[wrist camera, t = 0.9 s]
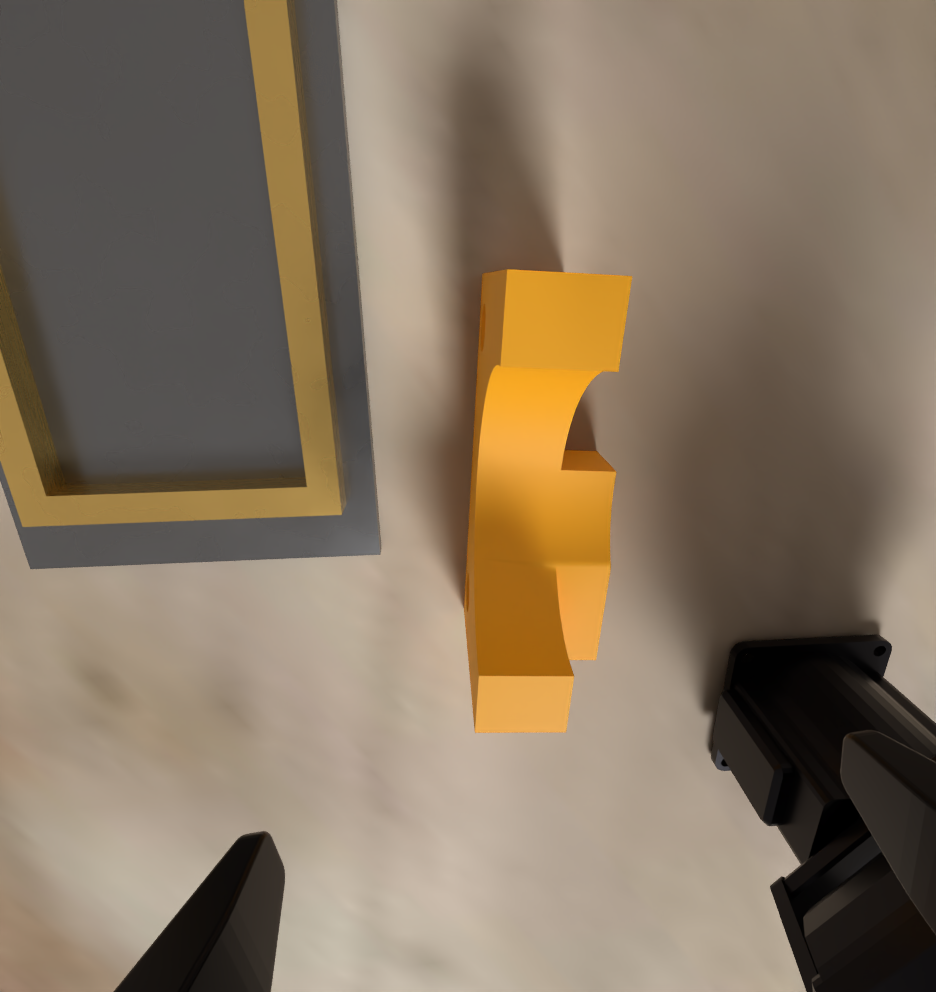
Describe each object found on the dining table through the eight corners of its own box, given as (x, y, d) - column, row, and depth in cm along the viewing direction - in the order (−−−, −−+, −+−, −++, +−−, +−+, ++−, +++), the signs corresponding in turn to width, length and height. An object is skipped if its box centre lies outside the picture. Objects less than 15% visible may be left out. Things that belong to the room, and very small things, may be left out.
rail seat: (308, -349, 12) (292, -431, 11) (381, 548, 20) (377, 568, 19) (-271, -370, 12) (-367, -459, 10) (40, 562, 20) (9, 584, 18)
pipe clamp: (573, 608, 22) (626, 732, 16) (463, 606, 21) (474, 732, 15) (618, 281, 18) (714, 281, 11) (481, 273, 17) (507, 269, 11)
